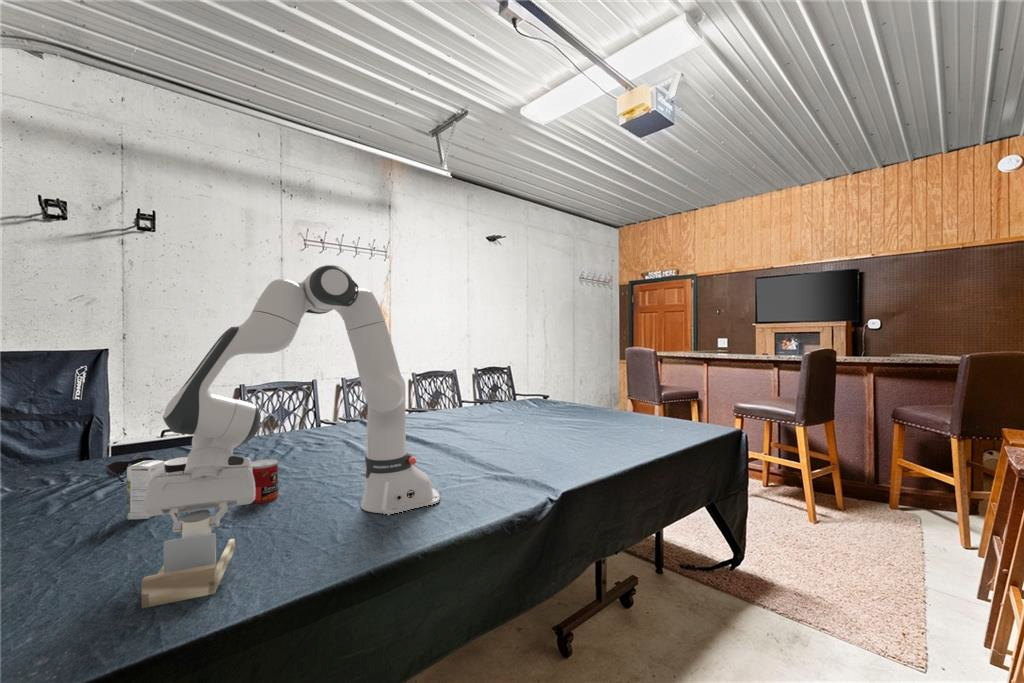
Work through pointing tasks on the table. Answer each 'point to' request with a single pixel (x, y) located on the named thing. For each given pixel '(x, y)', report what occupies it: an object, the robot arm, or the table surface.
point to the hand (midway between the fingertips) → (196, 528)
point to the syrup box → (140, 486)
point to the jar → (196, 523)
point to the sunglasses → (123, 466)
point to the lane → (185, 581)
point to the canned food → (265, 480)
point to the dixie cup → (175, 465)
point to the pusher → (189, 552)
